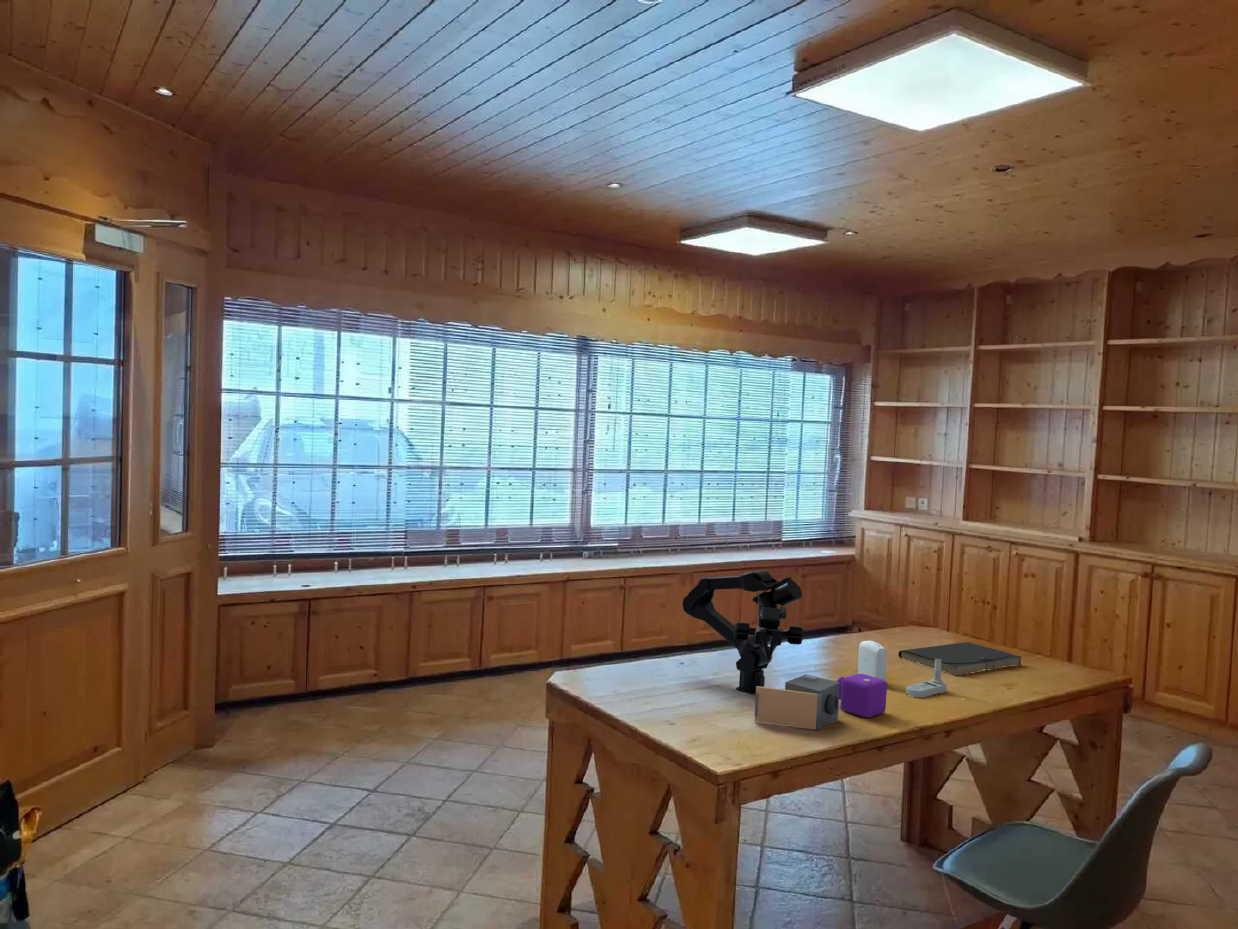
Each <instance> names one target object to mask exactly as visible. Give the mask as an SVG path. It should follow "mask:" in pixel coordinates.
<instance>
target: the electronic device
mask: <svg viewBox="0 0 1238 929" xmlns="http://www.w3.org/2000/svg"><path fill="white" fill-rule="evenodd" d="M947 685H948V684H947V683H946V682H944V681H943V680H942V671H941V659H935V669H933V677H932V678H931V680H930V679H929V680H926V681H922V682H919V683H918V682H917V683H914V684H909V685H907V686H906V688H905V694H906V693H907V694H908V695H911V696H914V697H913V698H915V697H923V698H925V697H924V696H928V697H930V696H929V695H932V696H934V695H933V694H936V695H938V694H937V693H940V694H944V693H946V692H947ZM907 694H906V695H907ZM908 695H907V696H908ZM911 696H910V697H911Z"/></svg>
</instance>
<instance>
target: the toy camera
mask: <svg viewBox="0 0 1238 929" xmlns="http://www.w3.org/2000/svg"><path fill="white" fill-rule="evenodd" d="M836 682H839V683H840V691H839V700H840V708H841V710H842V711H845V712H847V713H850V714H854V715H856V716H858V717H859V716H860V717H862V718H866V719H867V718H872V717H875V716H878V715H881V714H883V713H885V712H886V707H887V694H888V693H887V691H888V684H887V681H884V680H882V679H879V678H876V677H872V676H869V675H865V674H858V673H857V674H856V673H855V674H852V675H849V676H846V677H845V676H840V677H839V678H838V679H837V680H836Z"/></svg>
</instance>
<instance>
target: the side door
mask: <svg viewBox="0 0 1238 929" xmlns="http://www.w3.org/2000/svg"><path fill="white" fill-rule="evenodd" d="M754 700H755V701H754V722H759V723H763V724H764V723H765V724H771V725H778V726H779V725H780V726H788V727H794V728H801V729H808V730H815V731H820V730H821V728H820V721H821V703H822V694H815V693H807V692H799V691H791V690H785V689H782V688H775V687H774V688H773V687H765V686H764V687H759V686H756V694H755V699H754Z"/></svg>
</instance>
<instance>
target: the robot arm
mask: <svg viewBox="0 0 1238 929" xmlns="http://www.w3.org/2000/svg"><path fill="white" fill-rule="evenodd" d="M731 589H732V590H735V589H738V590H739V589H740V590H743V591H746V592H752V593H756V592H761V593H757V594H756V595H755V596H754V597H753V598H752V600H751V601H752V602H754V603H755V604H757V626H756V627H750V626H751V624H750V622H747V621H746V622H745V621H737V622H736V623H734V624H733V623H732V622H731V621H730V620H728V619H727V617H724V616H723V614H721V613H719V612H718V611H717V610H716V609H715V606H714V603H713V601H712V600H713V599H714V596H715V592H716V590H731ZM802 594H803V592H802V589H801V586H800V585H798V583H797V582H796V581H794V580H793V579H792V577H791V576H786V577H784V578H782V580H781V581H779V580H778V579H776V578H775V577H773V576H772V575H771V574H770V572H769V571H768V570H764V569H763V570H756V571H751V572H747V573H743V574H741V575H731V576H730V575H729V576H728V575H727V576H706V577H703V578H701V579H700V580H699V582H698V583H697V585H696V586H694V587H693V588H692V589H691V590H690V592H688V594H687V596H684V597H683V600H682V611H684V613H685V614H687V615H688V616H690V617H692V618H694V619H697V620H701V621H702V622H704V623H706V625H708V626H709V627H710V628H712V629H713V630H714V631H715V632H716V633H718V634H719V635H720V636H721V637H723V639H725V640H726V641H727V642H728V643H729V644H731V645H732V646H733V647H734V648H735V649H737V651H738V654H739V657H740V658H739V659H738V660H736V661H735V666H736V670H737V671H739V682H738V686H736V688H735V689H736V690H738V691H741V692H744V693H749V694H752V695H756V686H759V687H765V684H766V683H765V679H766V677H765V675H764V673H765V672H764V670H765V669H767V668H768V666H769V664H770V663H771V662H772V659H773V654H774V651H775V650H776V648H777V647H778V646H782V641H783V638H786V642H787V643H788V644H789V645H798V646H799V645H802V643H803V639H804V628H803V627H802V626H801V625H792V624H791V625H788V628H787V629H780V625H781V620H786V619H787V607H786V606H788V605H790V604H792V603H793V602H797V601H798V600H799V599H801V598H802ZM749 636H751V637H749ZM752 636H753V637H752ZM768 637H770V643H769V642H768Z"/></svg>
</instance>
